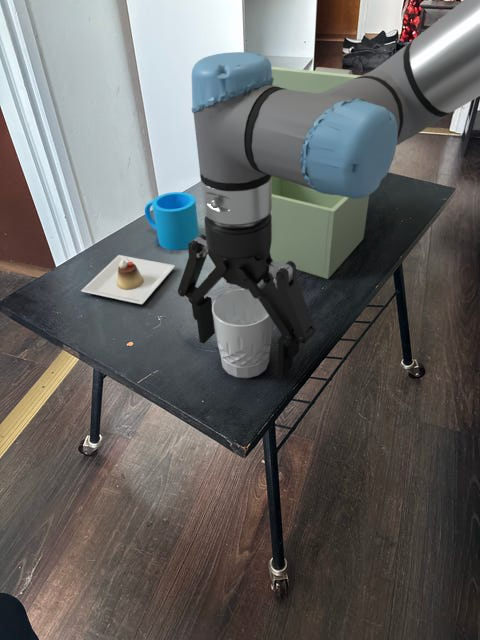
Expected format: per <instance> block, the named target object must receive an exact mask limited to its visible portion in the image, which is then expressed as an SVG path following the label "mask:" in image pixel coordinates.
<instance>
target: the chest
mask: <svg viewBox="0 0 480 640" xmlns="http://www.w3.org/2000/svg"><path fill="white" fill-rule="evenodd" d="M369 201H370V195H369V196H367V197H364V198H360V199H352V198H348V197H344V196H339V195H330V194H323V193H320V192H317V191H316V190H314V189H311V188H308V187H305V186H302V185H299V184H296V183H293V182H290V181H286V180H283V179H280V178H277V177H274V176H272V210H271V212H270V214H271V216H272V242H271V247H270V255H271V258H272V260H273V262H276V263H280V264H286V263H287V262H288V261H292V262H294V263H295V265H296V271H297V270H298V271H300V272H304V273H306V274H311V275H313V276H317V277H319V278H323V279H326V280H329V279H330V278H331V276H333V274H334V273H335V272H336V271H337V270H338V269H339V268H340V267H341V265H342V264H343V263H344V262H345V261H346V260H347V258H348V257H349V256H350V255H351V254H352V252H353V251H355V249H356V248H357V246H359V244H361V243H362V241H363V240H364V237H365V231H366V222H367V216H368V207H369Z"/></svg>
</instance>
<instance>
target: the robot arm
mask: <svg viewBox="0 0 480 640" xmlns="http://www.w3.org/2000/svg"><path fill="white" fill-rule="evenodd" d="M271 67H272V62H271V61H270V59H269V58H268V57H267V56H265V55H262V54H260V53H255V52H246V51H234V52H222V53H216V54H215V53H214V54H212V55H207V56H205V57H202V58H200V59H199V60H197V61H196V62H195V64H194V65H193V67H192V70H191V101H192V103H191V104H192V107H191V113H193V121H194V122H193V123H194V131H195V139H196V149H197V160H198V166H199V177H200V187H201V196H202V207H203V212H204V216H205V217H204V229H205V234H204V233H201V234H199V236H198V237H197V238H196V239H194V240H193V241H191V242H190V243H189V244H188V248H187V249H188V259H187V261H186V264H185V267H184V269H183V273H182V276H181V279H180V282H179V286H178V289H177V294H178V296H180V297H182V298H183V297H186V298H187V299H188V302H189V303H190V304H191V310H192V317H193V319H194V320H196V324H197V332H198V340H199V343H201V344H203V345H204V344H206V342H207V341H209V340H210V339H211V337H213V336H214V335H216V332H215V325H214V319H213V313H212V305H213V302H212V297H210V296H207V294H208V293H209V292H210V291H211V290H212V289H213V288H214V287H215V286H216V285H217V284H218V283H219V282H220V281H221V280H222V278H223V280H225V282H226V284H230V285H236V286H238V287H240V288H243V289H246V290H249V291H250V293H251V294H252V296H253V297H254V298H257V299H259V301H260V302H261V304H262V305H263V307H264V308H265V310H266V311H267V313H268V314H269V316H270V317H271V319H272V323H273V324H274V325H275V326H276V328H277V330H278V331H279V333H280V335H281V336H280V337H279V339H278V340H277V341H278V343H277V344H278V347H277V358H278V359H277V377H279V378H281V379H284V378H285V377H286V375H287V374H288V373H289V371H290V370H291V369H292V367H293V366H294V358H295V357H296V356H297V354H298V353H299V352H300V347H301V346H300V345H301V344H306V343H307V342H308V341H309V339H311V337H312V336H313V335H314V334H315V332H316V326H315V324H314V321H313V318H312V315H311V313H310V310H309V308H308V305H307V303H306V300H305V297H304V295H303V292H302V289H301V287H300V285H299V282H298V279H297V269H296V265H295V263H294V262H292V261H288V262H287V263H286V264H280V263H276V262H273V260H272V258H271V255H270V247H271V242H272V216H271V214H270V212H271V210H272V176H274V177H277V178H280V179H283V180H286V181H290V182H293V183H296V184H299V185H302V186H305V187H308V188H311V189H314V190H316V191H317V192H320V193H323V194H330V195H339V196H344V197H348V198H352V199H360V198H364V197H367V196H369V197H370V195H371V194H373V193H374V192H375V191H376V190H378V188H379V187H380V184H381V182H382V180H384V179H385V178H386V177H387V175H388V173H389V171H390V169H391V166H392V163H393V161H394V158H395V154H396V149H397V146H399V145H401V144H402V143H404V142H405V141H407V140H409V139H411V138H412V137H414V136H416V135H418V134H419V133H421V132H423V131H425V130H426V129H427V128H429V127H430V126H432V125H435V124H436V123H438V122H439V121H441V120H442V119H444V118H446V117H447V116H448V115H450V114H452V113H453V112H456V111H457V110H458V109H460V108H461V107H463V106H466V105H467V104H469V103H471V102H472V101H474V100H476V99H477V98H479V97H480V0H462V1H460V2H459V4H457V5H456V6H454V7H453V8H452V9H450V10H449V11H448V12H447V13H445V14H444V15H443V16H441V17H440V18H439V19H438V20H437V21H435V22H434V23H432V25H430V26H429V27H427V28H426V29H425V30H424V31H422V32H421V33H419V35H418V36H416V37H415V38H414V39H412V41H410V42H409V43H407V44H406V45H404V46H403V47H402V48H400V49H399V50H398V51H397V52H395V53H394V54H393V55H391V56H390V57H389V58H388V59H386V60H385V61H383V62H382V63H381V64H380V65H379V66H377V67H376V68H374V69H372V70H371V71H369V72H367V73H365V74H363V75H360V77H357V78H355V79H353V80H350V81H348V82H346V83H343V84H341V85H338V86H336V87H334V88H331V89H329V90H327V91H324V92H322V93H308V92H301V91H294V90H288V89H285V88H280V87H277V86H273V85H272V84H273V83H274V82H273V80H274V78H273V77H272V68H271ZM207 256H208V257H209V259H210V260H211V261H212V263H213V265H214V268H213V270H212V271H210V273H209V274H208V275H207V277H206V278H205V279H204V280H203V281H202V282H201V283H200V284H199V286H198V287H197V283H198V280H199V278H200V275H201V273H202V270H203V267H204V264H205V262H206V259H207ZM262 281H263V283H262V284H261V285H260V286H259V284H260V283H261V282H262Z"/></svg>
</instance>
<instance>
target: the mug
mask: <svg viewBox="0 0 480 640" xmlns="http://www.w3.org/2000/svg"><path fill="white" fill-rule="evenodd" d="M196 202H197V201H196V198H195V196H194V195H193V194H190V193H189V192H183V191H173V192H167V193H163V194H160V195H159V196H156V197H155V198H154V199H152V200H150V201H148V202H147V203H146V204H145V206H144V216H145V219H146V220H147V223H148V224H149V226H151V227H152V228H153V230H155V231H156V234H157V239H158V240H157V241H158V244H159V246H160V247H162V248H163V249H165V250H169V251H182V250H187V249H188V244H189V243H190V242H191V241H193V240H194V239H196V238H197V237H198V236H200V230H199V229H200V228H199V221H198V211H197V203H196ZM151 207H152V211H153V216H154V219H153V216H152V214H151Z"/></svg>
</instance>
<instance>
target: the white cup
mask: <svg viewBox="0 0 480 640" xmlns="http://www.w3.org/2000/svg"><path fill="white" fill-rule="evenodd" d="M212 313H213V319H214V329H215V337H216V341H217V342H216V343H217V347H218V351H219V355H220V359H221V366H222V368H223V370H224V371H225V372H226V374H228V375H230V376H232V377H235V378H238V379H251V378H253V377H254V378H255V377H257V376H260V375H261V374H262V373H264V372H265V371H266V370H267V368H268V366H269V363H270V356H271V355H270V354H271V353H270V352H271V347H272V337H273V336H272V335H273V320H272V319H271V317H270V316H269V314H268V313H267V311H266V310H265V308H264V307H263V305H262V304H261V302H260V301H259V299H257V298H254V297H253V296H252V294H251V293H250V291H249V290H246V289H243V288H241V287H240V288H234V289H230V290H227V291H225V292H222V293H221V294H219V295H218V296H217V297H216V298H215V299H214V301H213V302H212Z"/></svg>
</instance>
